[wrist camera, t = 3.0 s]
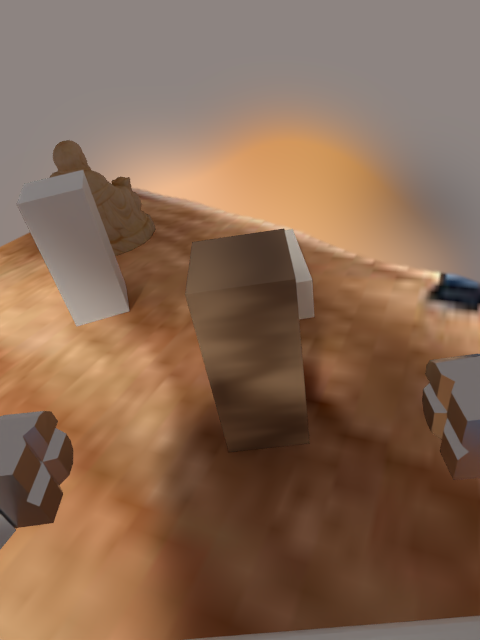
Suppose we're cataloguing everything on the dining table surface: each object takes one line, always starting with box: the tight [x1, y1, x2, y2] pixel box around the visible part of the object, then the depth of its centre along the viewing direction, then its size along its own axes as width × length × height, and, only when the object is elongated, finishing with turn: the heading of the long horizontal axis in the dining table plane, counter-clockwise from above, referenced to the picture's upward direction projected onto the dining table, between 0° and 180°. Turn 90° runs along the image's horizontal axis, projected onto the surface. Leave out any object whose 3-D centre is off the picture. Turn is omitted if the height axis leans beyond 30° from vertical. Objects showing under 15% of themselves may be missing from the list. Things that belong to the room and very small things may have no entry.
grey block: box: [17, 170, 130, 326], centre depth 39 cm, size 5×5×12 cm
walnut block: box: [185, 229, 310, 452], centre depth 25 cm, size 5×5×12 cm
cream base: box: [285, 229, 314, 319], centre depth 39 cm, size 9×9×4 cm
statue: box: [49, 140, 155, 256], centre depth 50 cm, size 12×14×10 cm
